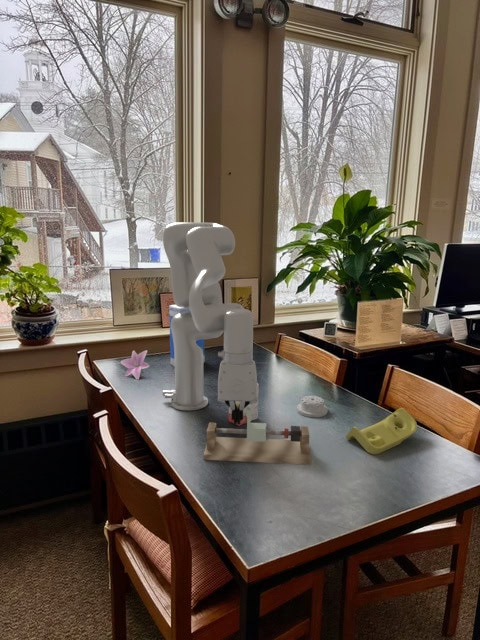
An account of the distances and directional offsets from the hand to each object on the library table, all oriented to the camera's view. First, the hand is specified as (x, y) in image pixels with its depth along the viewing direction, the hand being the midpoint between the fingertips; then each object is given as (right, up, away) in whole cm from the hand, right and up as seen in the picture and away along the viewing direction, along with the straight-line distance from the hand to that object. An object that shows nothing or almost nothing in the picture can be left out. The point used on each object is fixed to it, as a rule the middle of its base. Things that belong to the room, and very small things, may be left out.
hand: (237, 422), depth 125 cm
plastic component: (+42, -8, +9) cm, 43 cm away
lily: (-40, +5, +60) cm, 73 cm away
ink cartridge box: (+2, -4, +21) cm, 22 cm away
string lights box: (-22, +8, +75) cm, 78 cm away
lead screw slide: (+5, -9, +2) cm, 10 cm away
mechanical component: (+24, -3, +29) cm, 38 cm away
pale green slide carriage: (+5, -4, +1) cm, 7 cm away
